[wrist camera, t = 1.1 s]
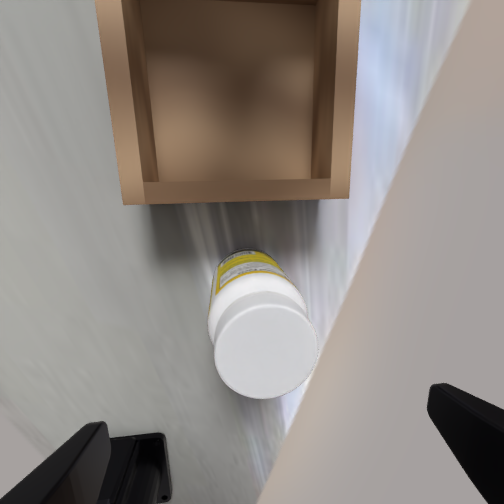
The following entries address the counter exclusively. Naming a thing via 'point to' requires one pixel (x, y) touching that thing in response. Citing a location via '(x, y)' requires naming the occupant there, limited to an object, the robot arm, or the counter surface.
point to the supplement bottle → (259, 327)
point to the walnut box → (231, 98)
